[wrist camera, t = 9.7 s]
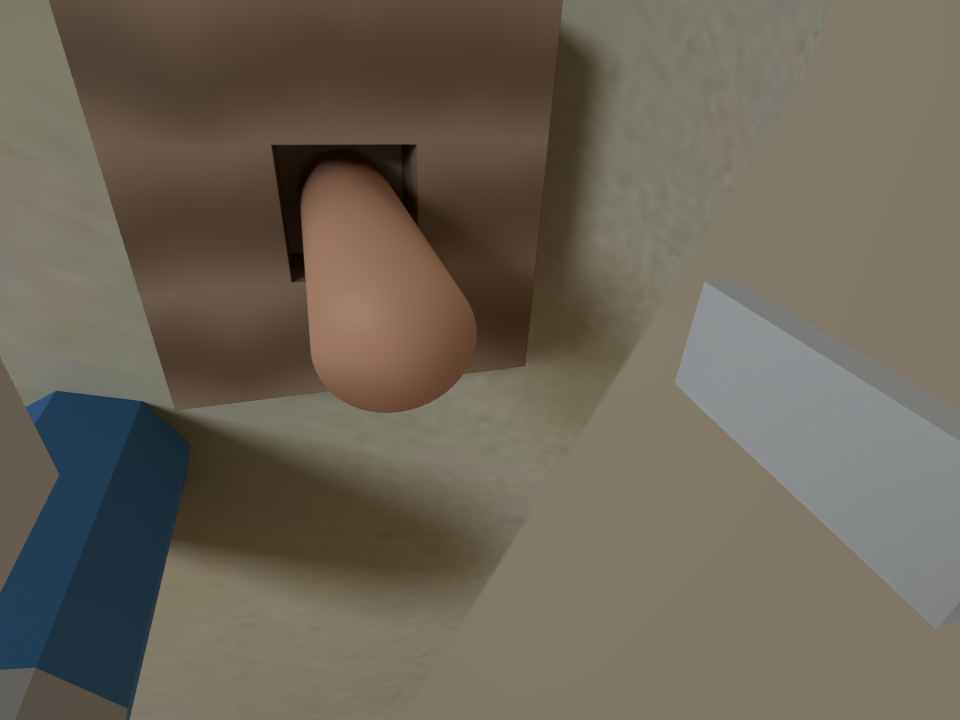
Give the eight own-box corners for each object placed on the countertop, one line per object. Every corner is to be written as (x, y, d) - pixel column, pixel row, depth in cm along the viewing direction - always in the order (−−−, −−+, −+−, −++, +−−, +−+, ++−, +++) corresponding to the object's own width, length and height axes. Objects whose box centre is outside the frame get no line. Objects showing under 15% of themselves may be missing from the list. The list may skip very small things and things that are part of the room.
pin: (293, 149, 22) (299, 271, 11) (385, 148, 23) (480, 260, 12) (304, 238, 24) (320, 423, 13) (388, 234, 25) (473, 401, 14)
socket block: (85, -45, 18) (27, -67, 14) (515, -9, 23) (564, -19, 19) (192, 353, 27) (175, 410, 23) (493, 322, 31) (525, 366, 27)
